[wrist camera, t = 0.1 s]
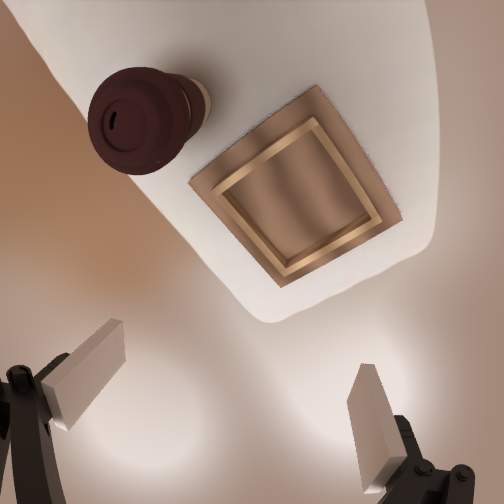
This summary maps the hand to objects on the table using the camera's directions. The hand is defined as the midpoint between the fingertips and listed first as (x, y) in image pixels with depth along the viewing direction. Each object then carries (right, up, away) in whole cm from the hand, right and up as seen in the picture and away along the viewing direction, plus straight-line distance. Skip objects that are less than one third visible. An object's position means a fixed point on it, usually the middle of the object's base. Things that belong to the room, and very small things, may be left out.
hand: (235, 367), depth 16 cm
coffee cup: (-7, +24, +19) cm, 32 cm away
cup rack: (+7, +13, +24) cm, 28 cm away
